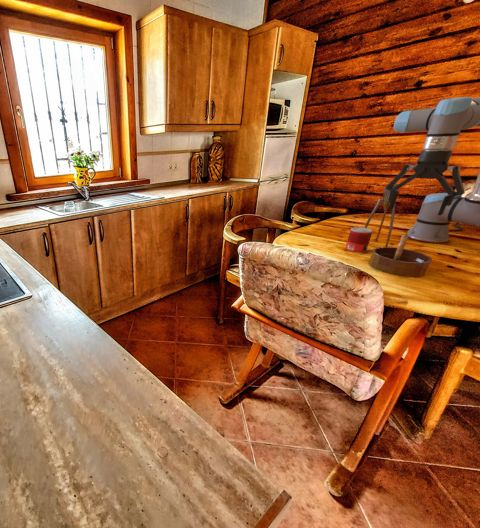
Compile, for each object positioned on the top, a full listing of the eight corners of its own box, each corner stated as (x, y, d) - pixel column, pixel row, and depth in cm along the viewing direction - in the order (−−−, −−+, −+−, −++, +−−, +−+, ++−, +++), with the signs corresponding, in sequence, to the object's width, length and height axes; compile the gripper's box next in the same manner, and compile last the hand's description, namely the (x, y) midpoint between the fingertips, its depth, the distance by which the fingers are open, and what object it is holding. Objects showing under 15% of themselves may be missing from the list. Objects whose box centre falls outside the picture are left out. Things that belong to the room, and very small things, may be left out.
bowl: (377, 257, 126) (382, 244, 123) (431, 270, 112) (438, 255, 109) (360, 267, 117) (365, 253, 115) (416, 282, 103) (423, 267, 101)
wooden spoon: (387, 266, 115) (400, 232, 109) (401, 269, 112) (415, 234, 106) (383, 269, 113) (396, 234, 107) (397, 272, 110) (411, 236, 104)
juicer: (376, 240, 145) (396, 181, 133) (387, 247, 135) (408, 184, 123) (354, 239, 148) (371, 181, 136) (363, 246, 138) (381, 185, 126)
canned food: (366, 255, 128) (374, 232, 124) (345, 252, 132) (351, 230, 128) (364, 249, 134) (371, 228, 130) (344, 247, 138) (350, 226, 134)
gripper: (386, 151, 102) (369, 207, 111) (491, 150, 83) (461, 219, 91) (394, 149, 106) (376, 205, 114) (496, 148, 86) (466, 215, 95)
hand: (414, 211), depth 103 cm, fingers open, 13 cm apart
